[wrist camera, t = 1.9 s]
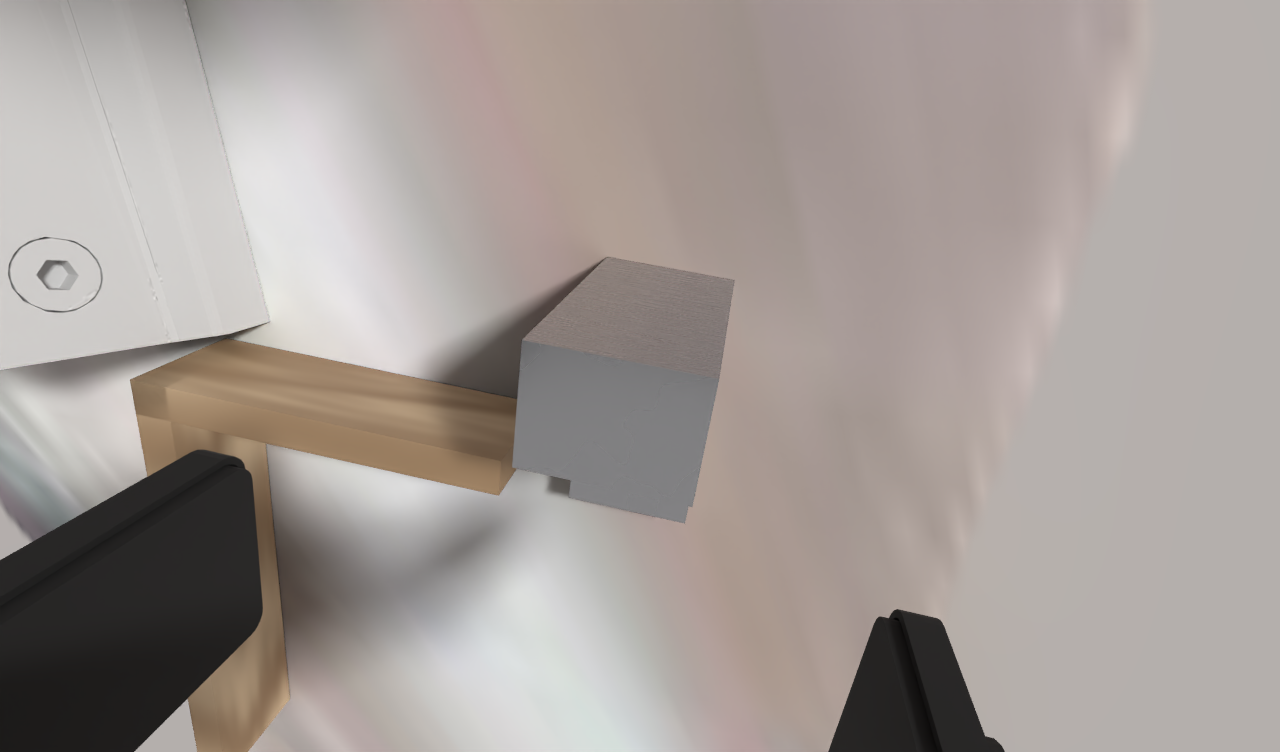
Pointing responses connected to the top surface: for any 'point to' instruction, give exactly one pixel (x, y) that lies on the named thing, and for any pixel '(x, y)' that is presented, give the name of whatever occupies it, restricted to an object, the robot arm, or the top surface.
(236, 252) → the hinge
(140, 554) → the robot arm
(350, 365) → the wooden corner frame
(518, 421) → the bracket
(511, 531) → the top surface
